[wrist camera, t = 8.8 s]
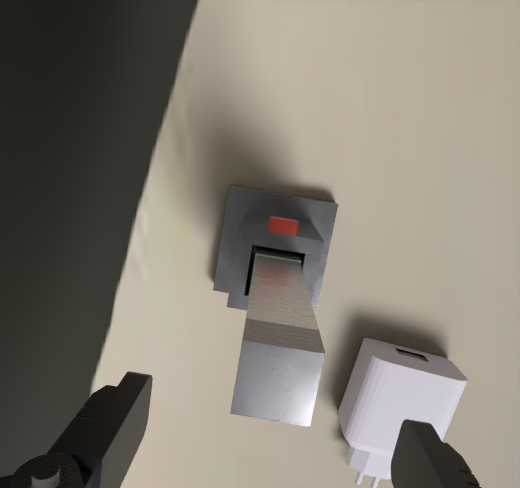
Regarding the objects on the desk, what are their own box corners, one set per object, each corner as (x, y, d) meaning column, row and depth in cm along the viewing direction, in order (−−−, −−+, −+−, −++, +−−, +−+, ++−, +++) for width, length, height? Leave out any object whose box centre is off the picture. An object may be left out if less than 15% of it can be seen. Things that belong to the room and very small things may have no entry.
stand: (230, 184, 37) (214, 193, 27) (335, 202, 37) (358, 217, 27) (215, 285, 39) (196, 327, 29) (315, 301, 39) (329, 349, 29)
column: (257, 241, 31) (241, 338, 14) (297, 247, 31) (327, 352, 14) (251, 279, 31) (228, 414, 15) (290, 285, 31) (310, 428, 15)
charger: (319, 457, 43) (361, 334, 40) (400, 477, 43) (448, 357, 40) (325, 493, 38) (373, 357, 35) (415, 516, 38) (472, 383, 35)
